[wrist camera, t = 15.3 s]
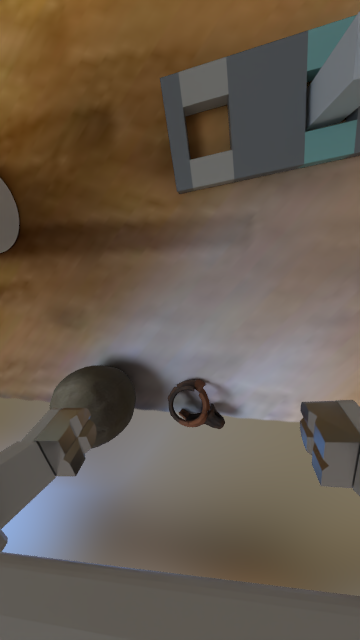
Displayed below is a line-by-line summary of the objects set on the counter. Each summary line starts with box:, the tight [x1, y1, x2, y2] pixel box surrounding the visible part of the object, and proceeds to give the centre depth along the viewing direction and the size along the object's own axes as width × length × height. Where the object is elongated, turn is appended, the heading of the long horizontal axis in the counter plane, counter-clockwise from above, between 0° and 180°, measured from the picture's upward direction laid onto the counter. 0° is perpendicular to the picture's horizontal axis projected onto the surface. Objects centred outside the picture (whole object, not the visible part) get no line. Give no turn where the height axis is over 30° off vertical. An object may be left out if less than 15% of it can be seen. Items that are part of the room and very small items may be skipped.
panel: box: [160, 15, 360, 194], centre depth 28 cm, size 24×12×2 cm, turn 100°
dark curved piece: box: [168, 379, 225, 429], centre depth 45 cm, size 12×10×8 cm
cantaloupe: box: [50, 366, 136, 448], centre depth 42 cm, size 14×14×15 cm
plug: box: [305, 12, 360, 131], centre depth 21 cm, size 4×4×13 cm
